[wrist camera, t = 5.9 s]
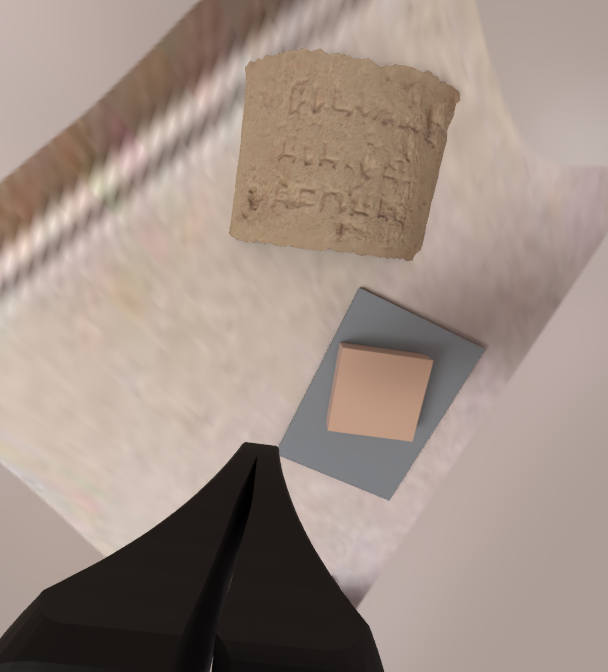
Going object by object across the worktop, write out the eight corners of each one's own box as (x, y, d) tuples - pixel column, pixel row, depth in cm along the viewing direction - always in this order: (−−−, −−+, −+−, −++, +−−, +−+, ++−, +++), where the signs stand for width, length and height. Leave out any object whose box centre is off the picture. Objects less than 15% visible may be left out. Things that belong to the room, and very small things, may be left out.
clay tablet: (463, 99, 17) (491, 68, 15) (428, 266, 20) (447, 266, 17) (229, 67, 17) (215, 30, 14) (220, 241, 19) (207, 236, 17)
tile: (325, 418, 21) (404, 428, 21) (327, 430, 19) (412, 441, 20) (339, 341, 20) (422, 353, 20) (342, 347, 18) (433, 360, 18)
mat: (387, 496, 23) (389, 500, 23) (276, 451, 22) (275, 454, 22) (482, 347, 20) (485, 349, 20) (358, 287, 19) (360, 288, 19)
